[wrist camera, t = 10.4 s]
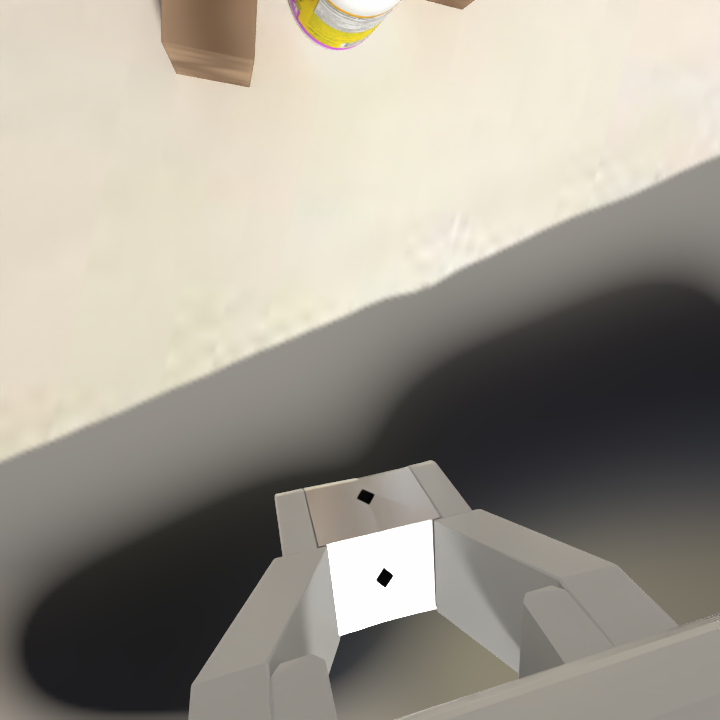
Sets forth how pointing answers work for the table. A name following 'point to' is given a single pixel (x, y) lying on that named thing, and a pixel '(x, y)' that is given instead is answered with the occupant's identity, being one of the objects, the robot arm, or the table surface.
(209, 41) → the walnut block one
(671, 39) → the table surface
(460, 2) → the walnut block seven
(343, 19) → the supplement bottle
